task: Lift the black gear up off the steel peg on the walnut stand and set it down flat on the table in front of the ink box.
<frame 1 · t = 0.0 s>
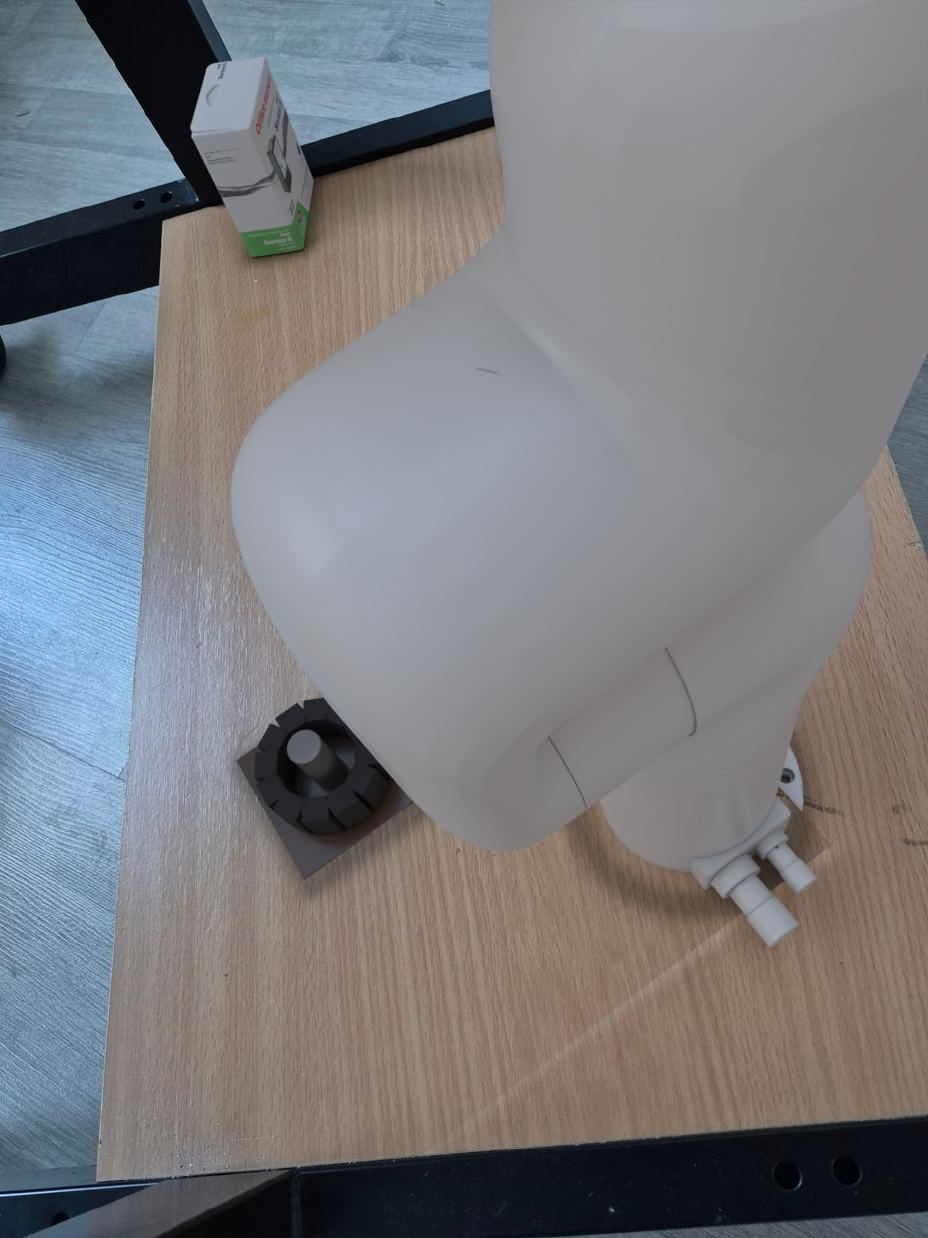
black gear: (331, 774, 60), point 1 cm above the table, touching peg stand
peg stand: (339, 781, 61), on the table
ink box: (283, 220, 85), on the table
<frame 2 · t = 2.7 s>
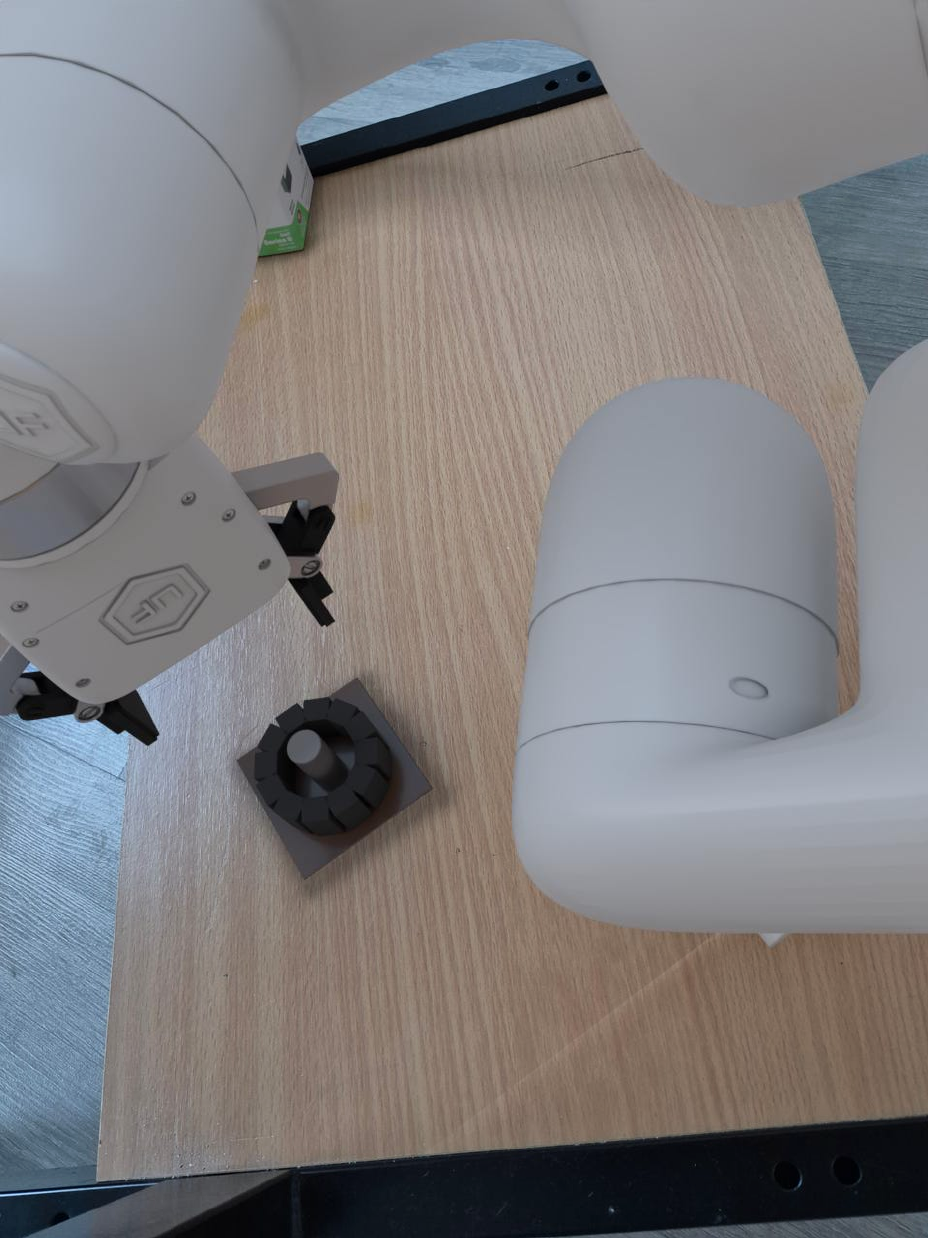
hand: (230, 660, 48), 16 cm above the table, tool pointing down, fingers open, 9 cm apart
nothing on the table moved.
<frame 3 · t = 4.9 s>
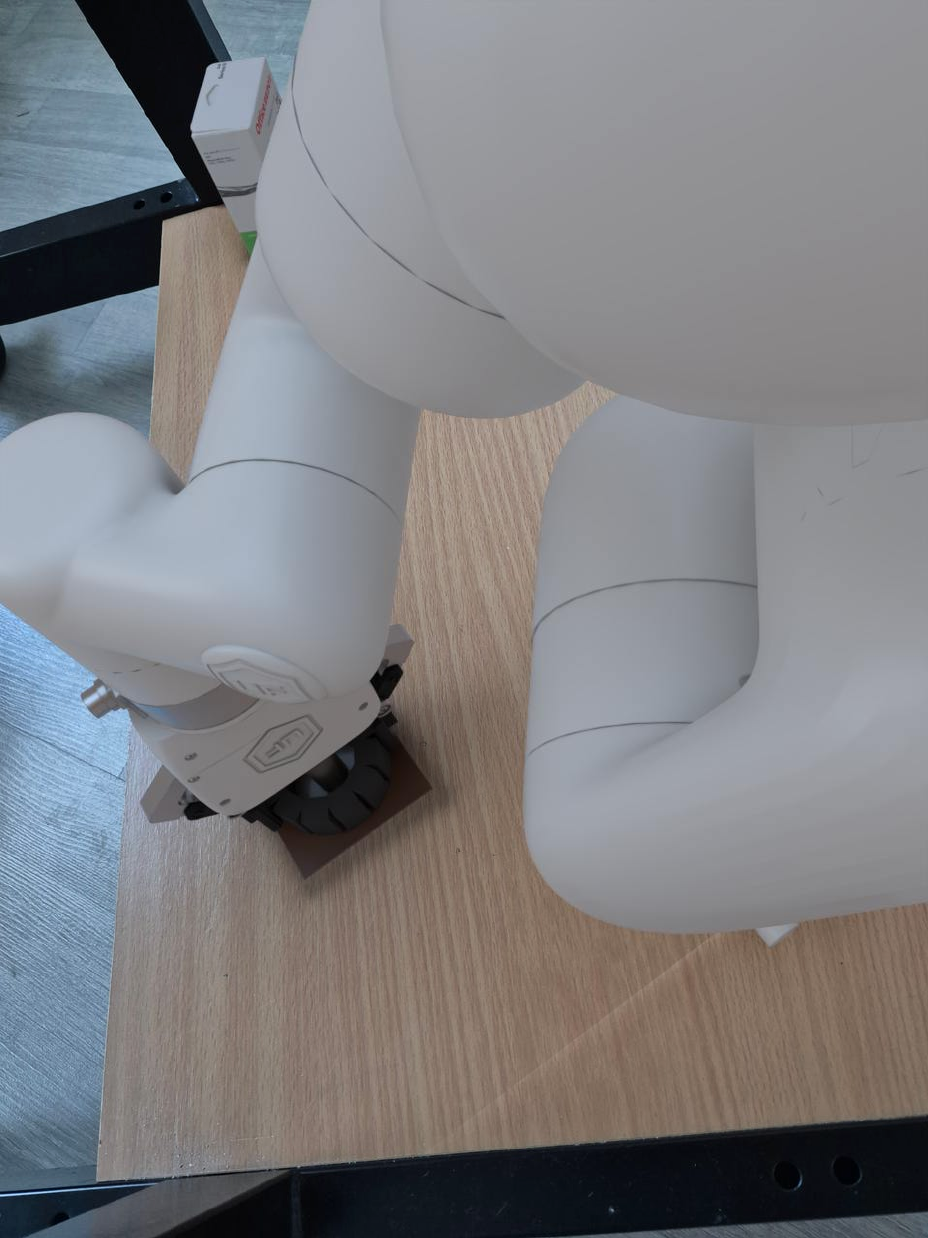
hand: (325, 768, 59), 3 cm above the table, tool pointing down, fingers closed on black gear, 7 cm apart
black gear: (331, 774, 60), point 2 cm above the table, touching gripper, peg stand
everything else where it was.
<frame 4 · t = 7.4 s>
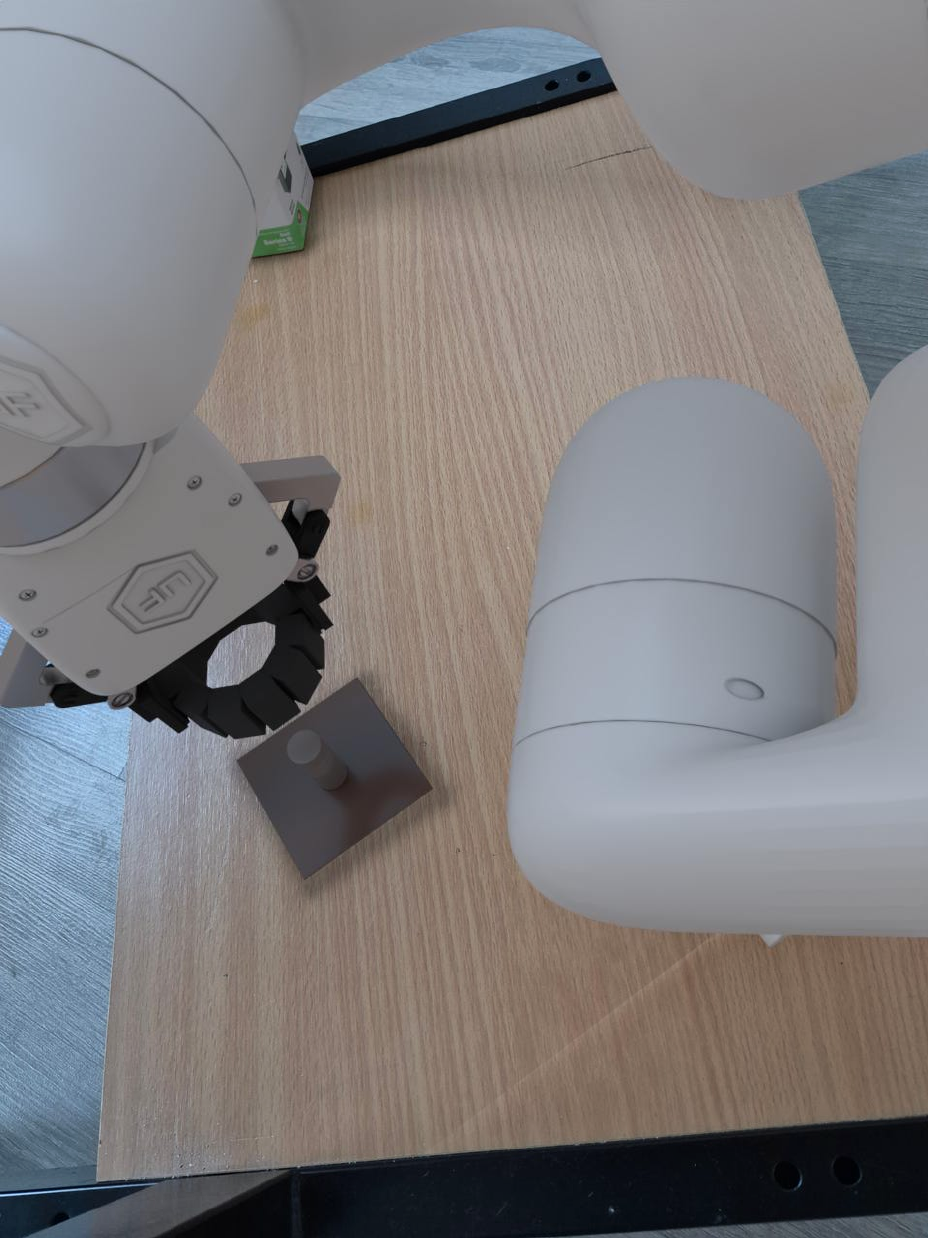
hand: (243, 656, 48), 16 cm above the table, tool pointing down, fingers closed on black gear, 7 cm apart
black gear: (252, 666, 49), point 15 cm above the table, touching gripper
everything else where it was.
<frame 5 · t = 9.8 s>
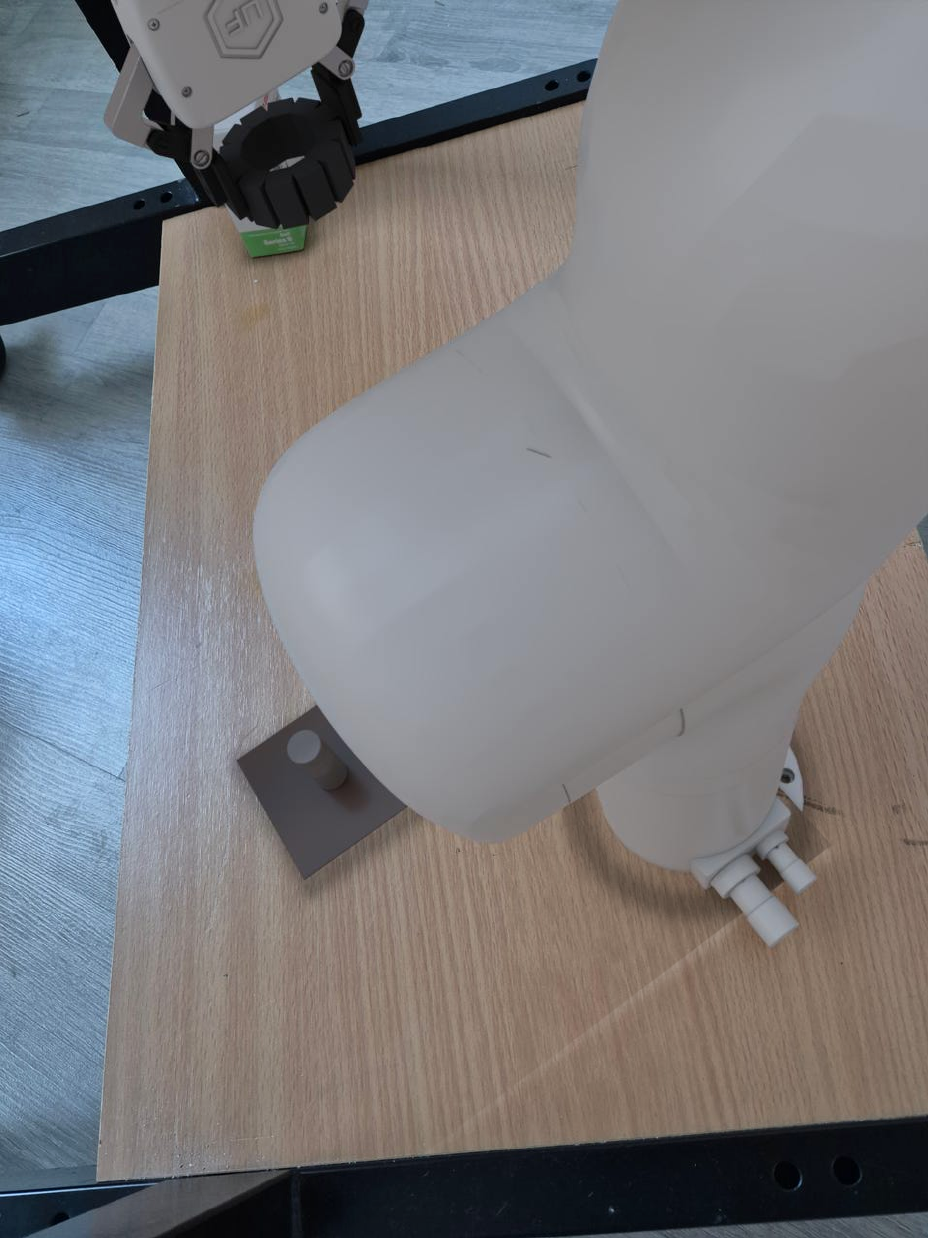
hand: (290, 168, 60), 18 cm above the table, tool pointing down, fingers closed on black gear, 7 cm apart
black gear: (296, 183, 61), point 17 cm above the table, touching gripper
everything else where it was.
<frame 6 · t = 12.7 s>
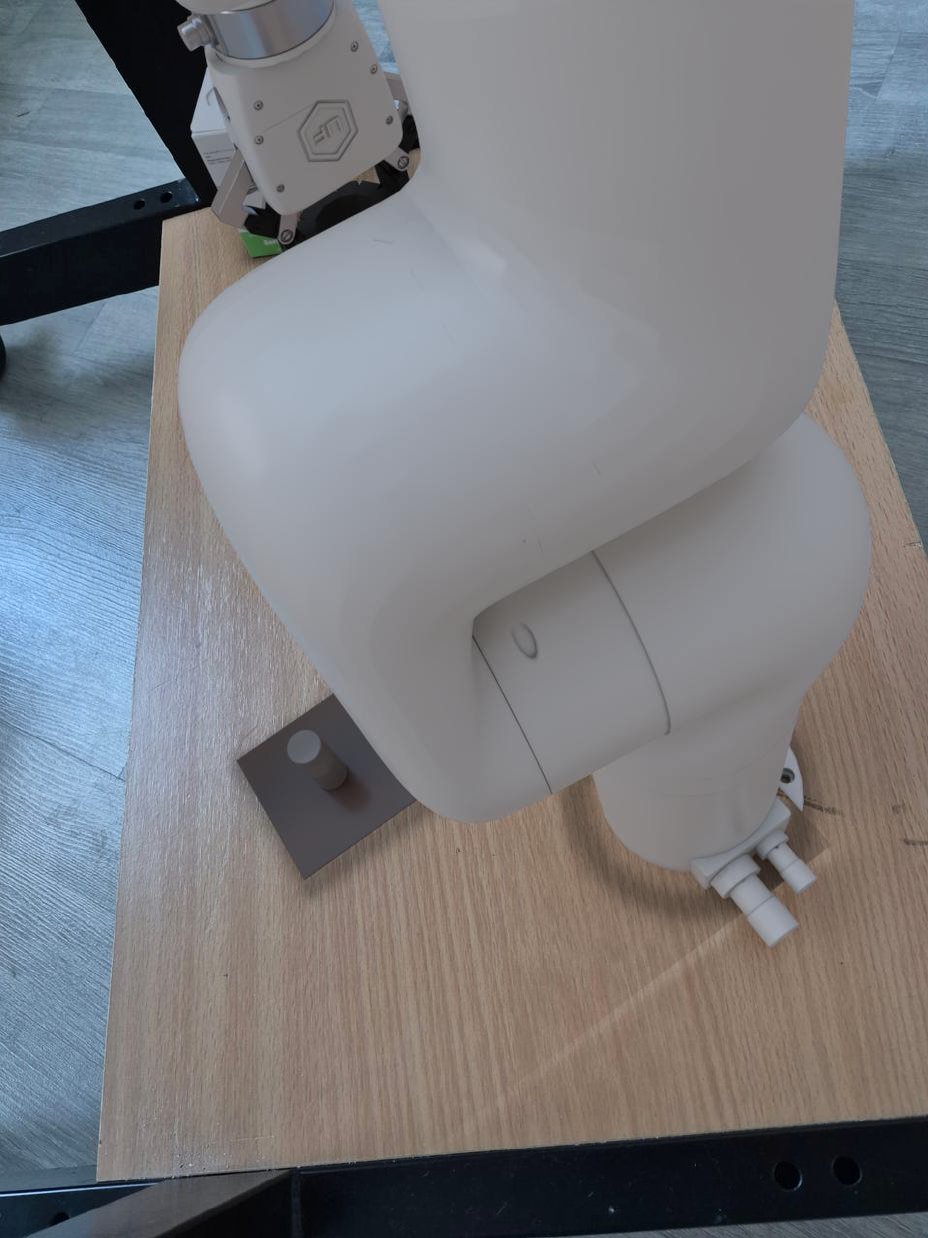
hand: (354, 239, 72), 7 cm above the table, tool pointing down, fingers closed on black gear, 7 cm apart
black gear: (359, 250, 73), point 6 cm above the table, touching gripper
everything else where it was.
when the fingers open (1 cm above the table, at t = 14.8 s): black gear stays where it is, on the table.
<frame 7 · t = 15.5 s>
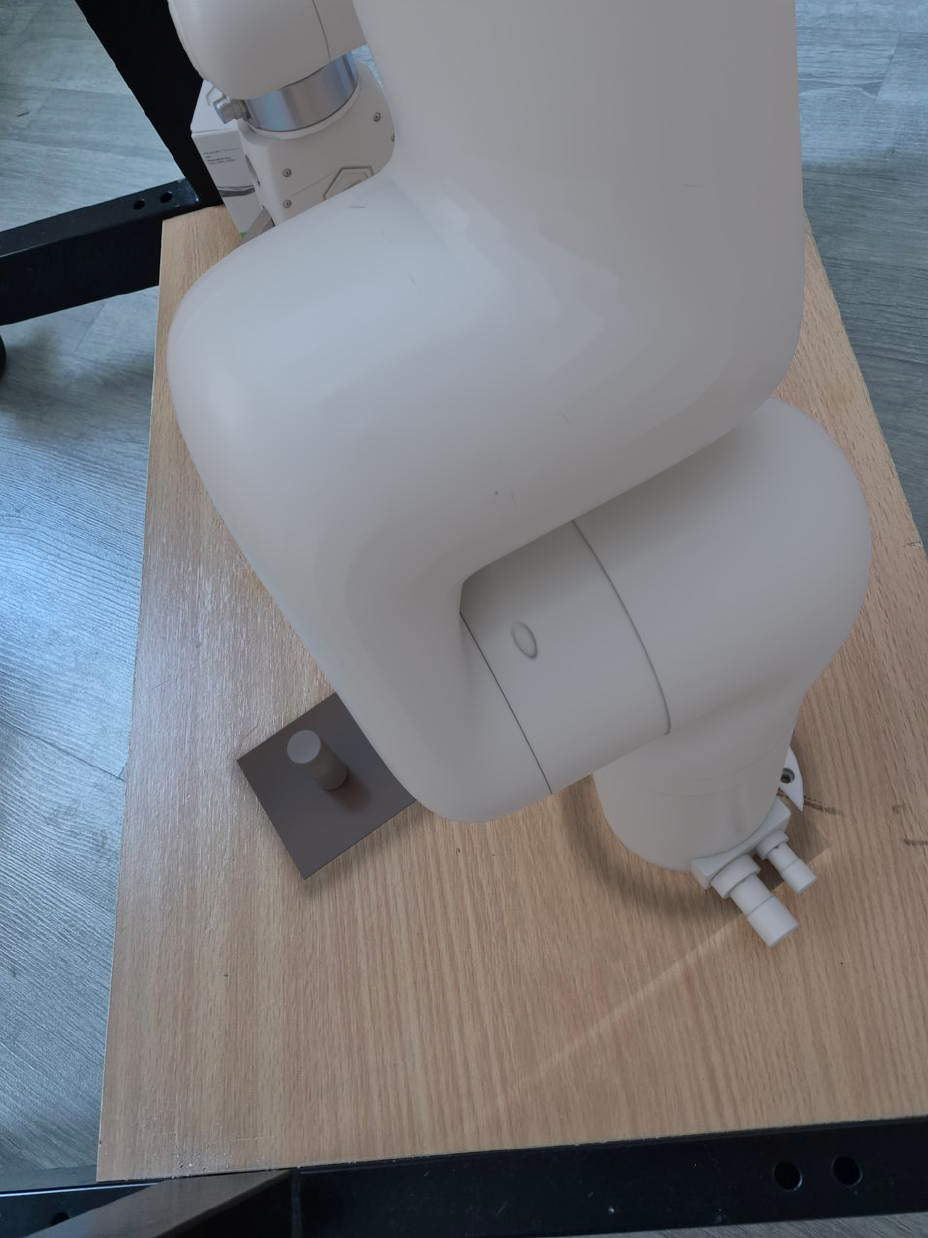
hand: (373, 285, 76), 3 cm above the table, tool pointing down, fingers open, 9 cm apart
black gear: (380, 308, 78), on the table
everything else where it was.
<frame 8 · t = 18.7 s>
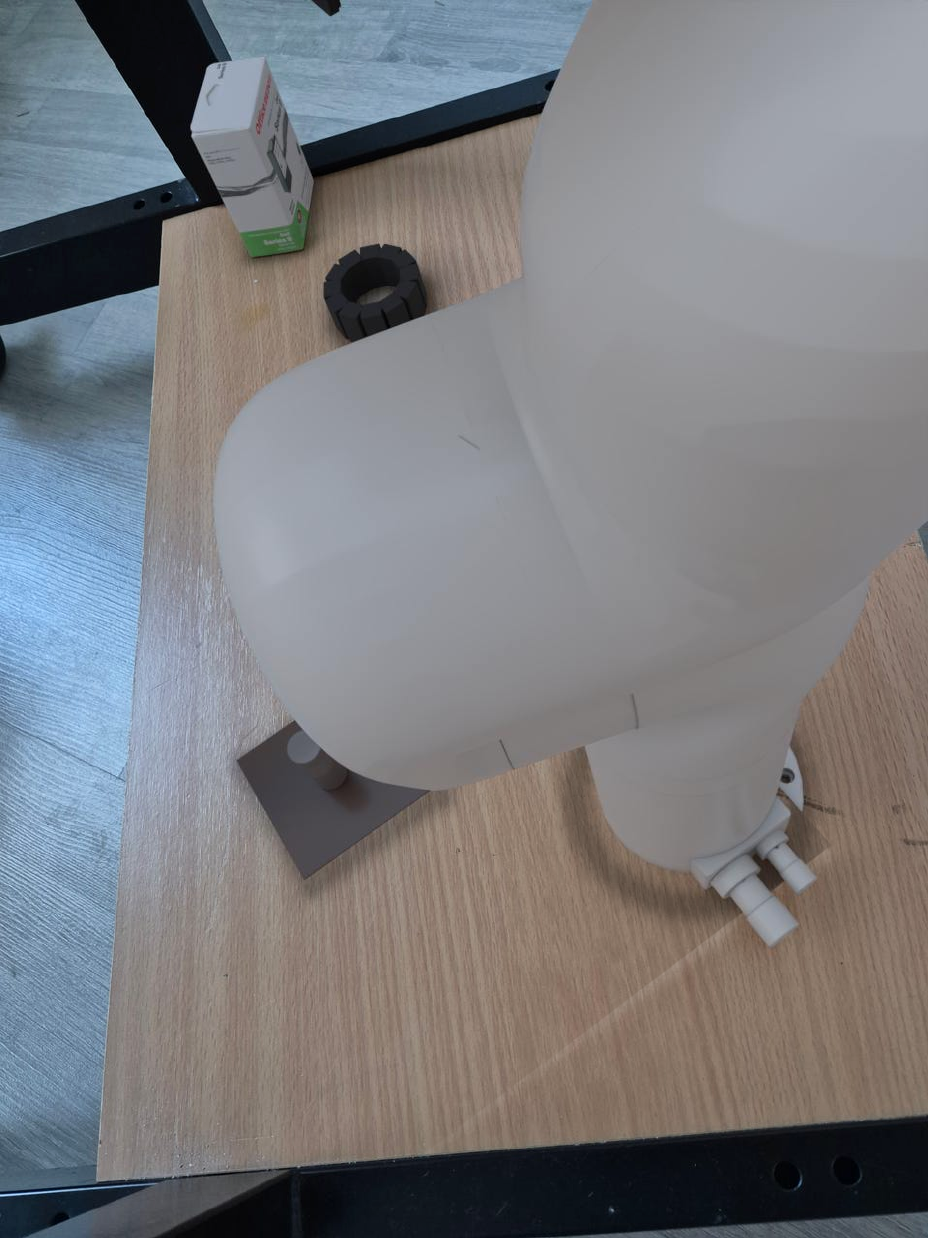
nothing on the table moved.
at the end: black gear inside the target area (0.2 cm from its centre), on the table; black gear 14.9 cm from the ink box (horizontally); the gripper is holding nothing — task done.
